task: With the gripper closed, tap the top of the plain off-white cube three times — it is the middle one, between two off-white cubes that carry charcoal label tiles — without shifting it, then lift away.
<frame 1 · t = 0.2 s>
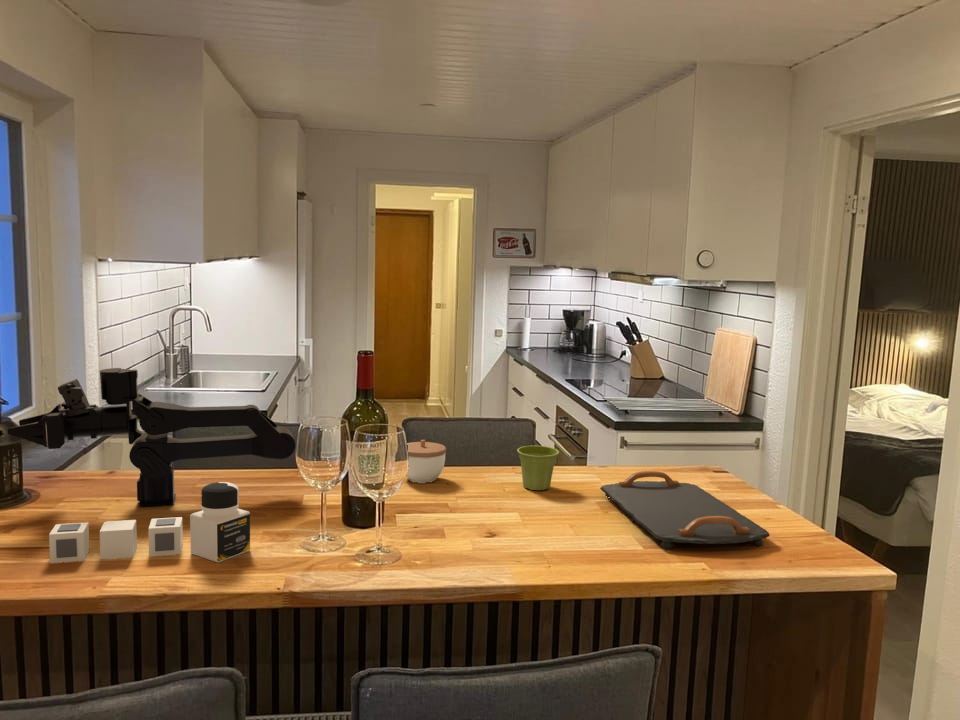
hand: (13, 427, 153), 16 cm above the counter, tool horizontal, fingers open, 9 cm apart
medicine bottle: (220, 553, 138), on the counter
lidded jar: (422, 480, 186), on the counter
plain cube: (119, 553, 136), on the counter
labelled cube a: (166, 550, 138), on the counter
plant pot: (536, 488, 183), on the counter
labelled cube b: (70, 557, 134), on the counter
serving board: (676, 522, 164), on the counter
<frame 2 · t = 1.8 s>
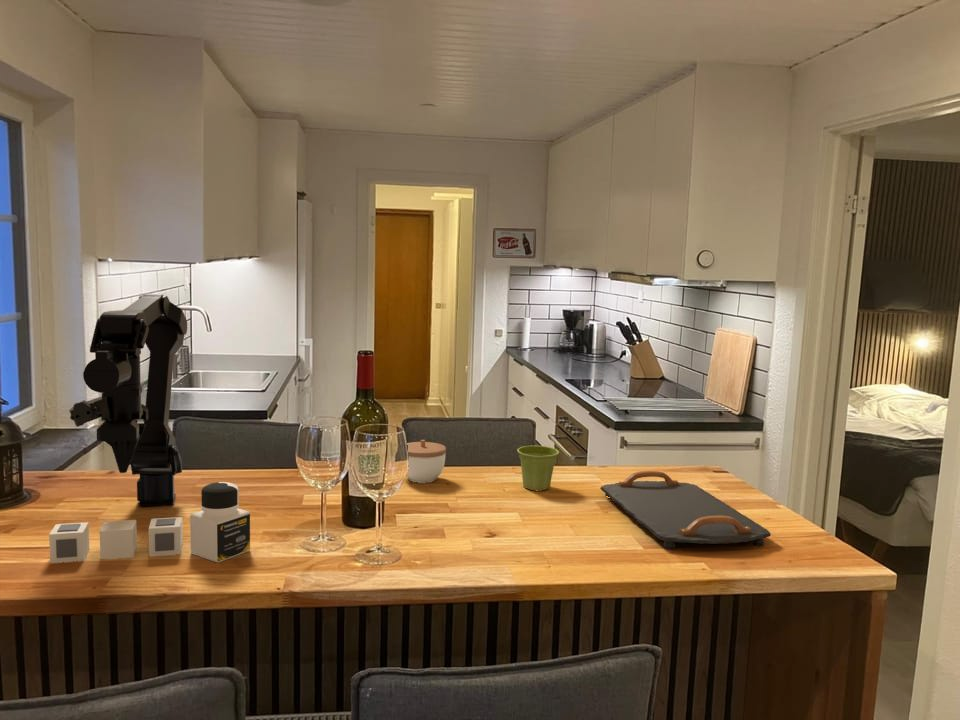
hand: (125, 468, 144), 12 cm above the counter, tool pointing down, fingers open, 5 cm apart
nothing on the counter moved.
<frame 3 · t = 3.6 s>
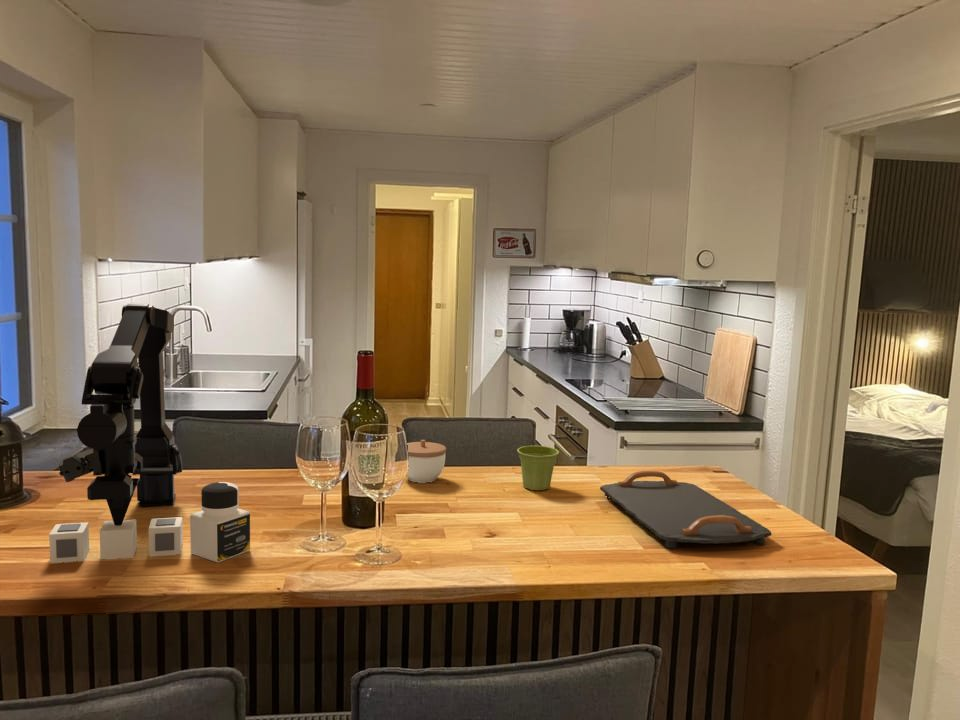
hand: (118, 524, 135), 5 cm above the counter, tool pointing down, fingers closed
nothing on the counter moved.
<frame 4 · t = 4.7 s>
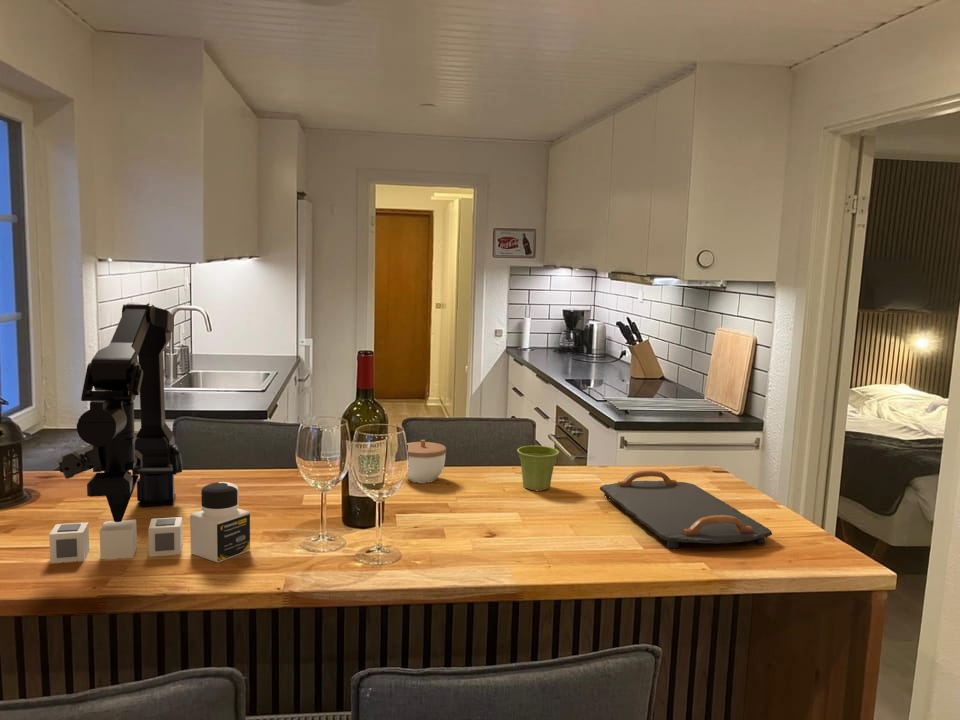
hand: (118, 521, 135), 6 cm above the counter, tool pointing down, fingers closed
nothing on the counter moved.
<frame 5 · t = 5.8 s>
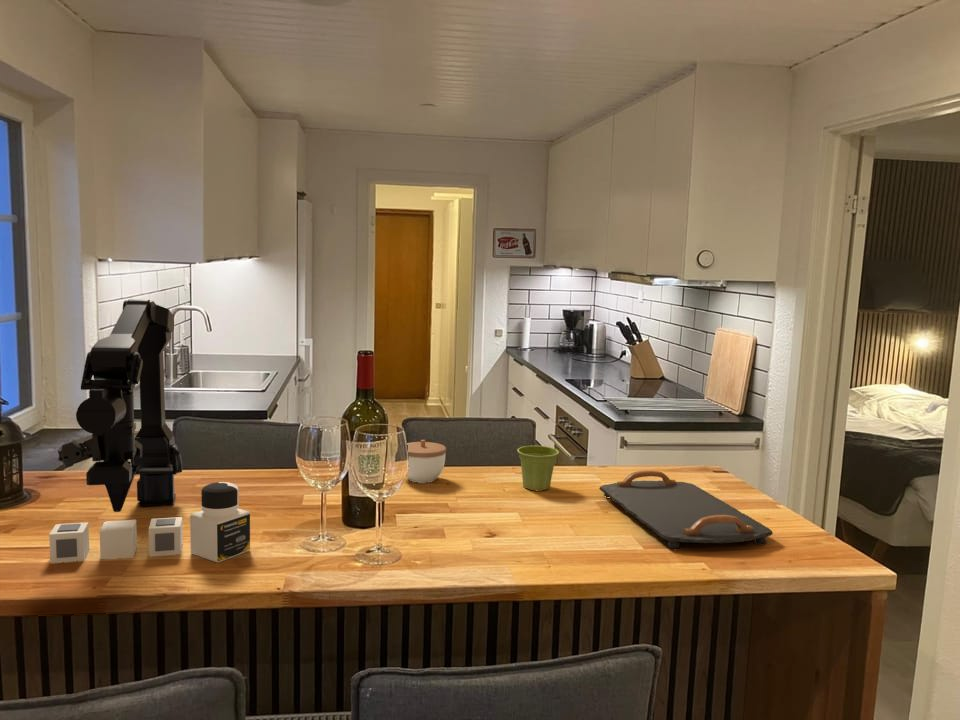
hand: (117, 511, 135), 7 cm above the counter, tool pointing down, fingers closed
nothing on the counter moved.
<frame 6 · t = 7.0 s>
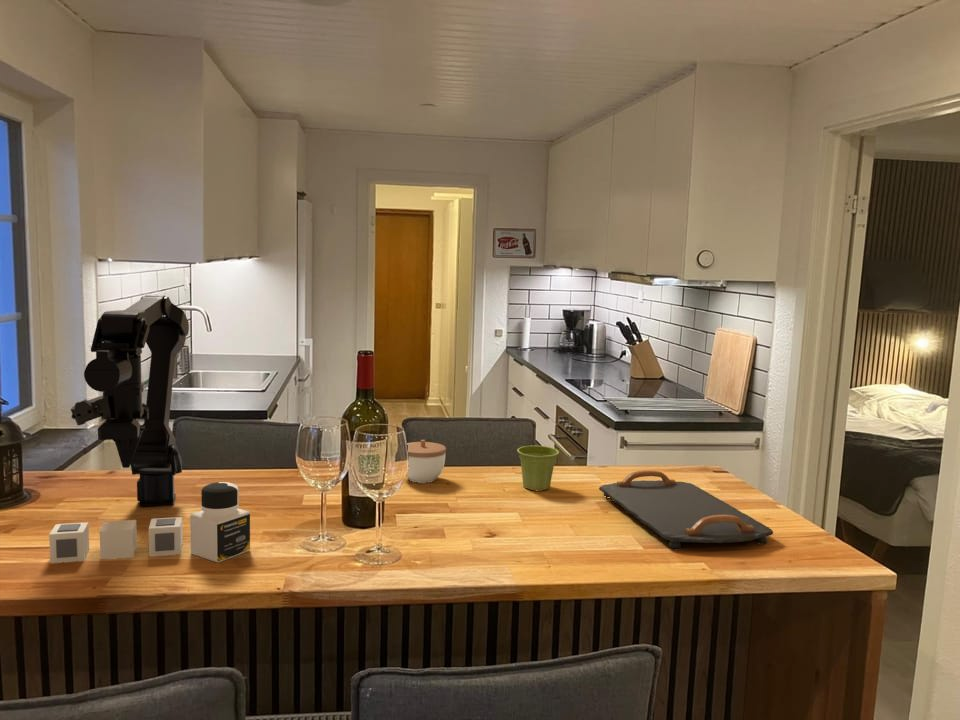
hand: (126, 467, 145), 12 cm above the counter, tool pointing down, fingers closed
nothing on the counter moved.
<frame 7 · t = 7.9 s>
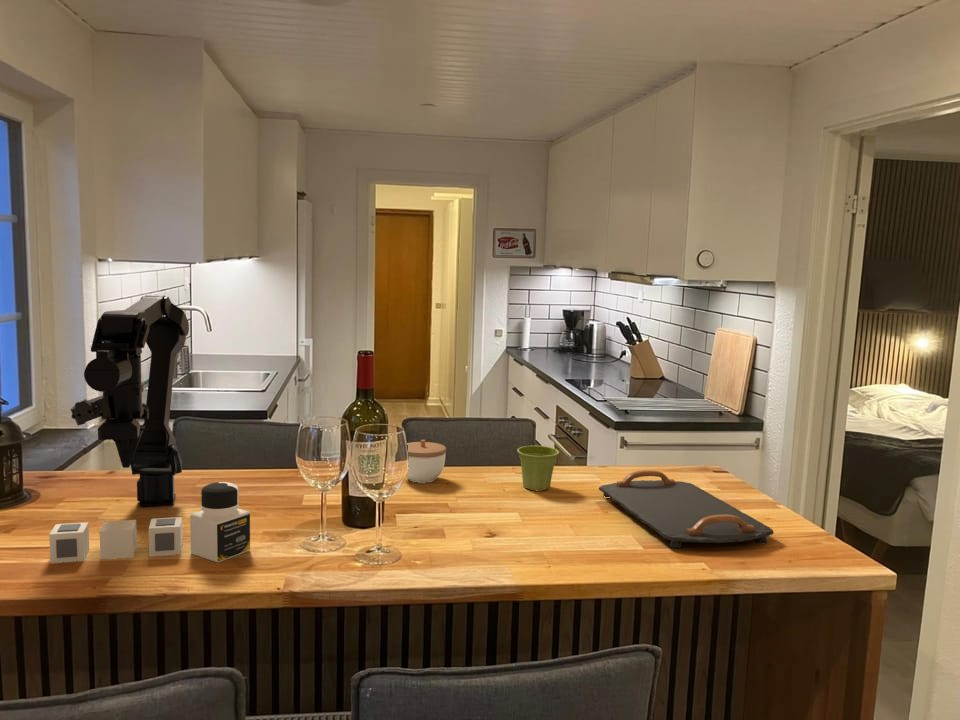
hand: (126, 467, 145), 12 cm above the counter, tool pointing down, fingers closed
nothing on the counter moved.
at the end: plain cube moved 0.1 cm from its start; plain cube tilted 0°; plain cube touching counter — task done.
